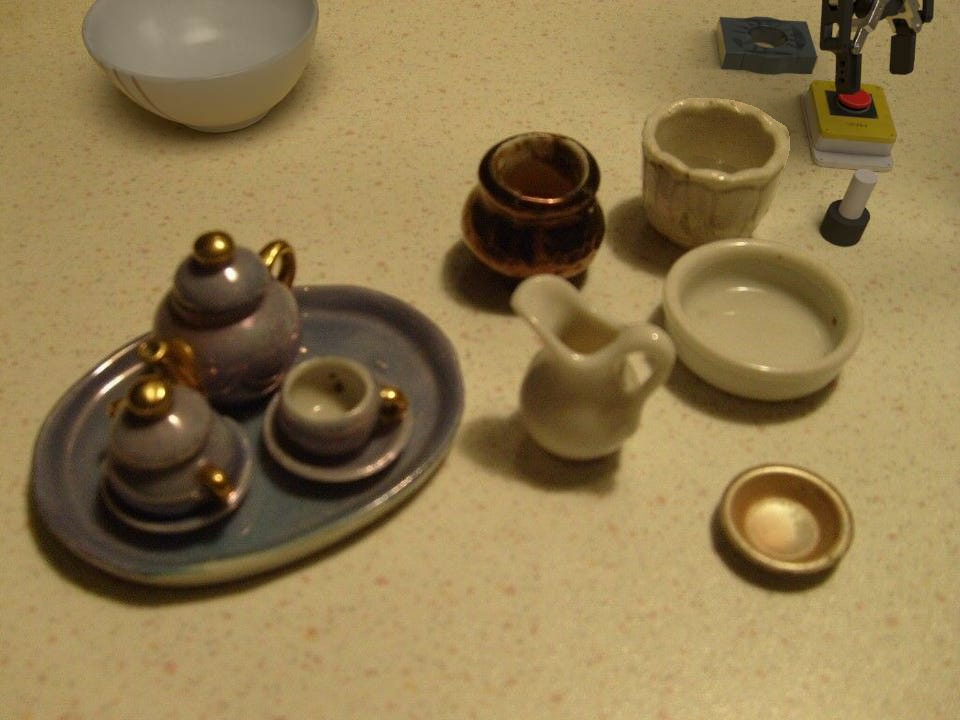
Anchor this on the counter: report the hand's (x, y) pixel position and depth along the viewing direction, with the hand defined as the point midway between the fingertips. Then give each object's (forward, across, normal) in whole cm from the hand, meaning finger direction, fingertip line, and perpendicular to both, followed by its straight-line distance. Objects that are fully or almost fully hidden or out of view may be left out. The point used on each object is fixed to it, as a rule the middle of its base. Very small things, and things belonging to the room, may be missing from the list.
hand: (875, 83), depth 84 cm
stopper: (+16, 0, +4) cm, 17 cm away
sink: (+2, +20, +30) cm, 36 cm away
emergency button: (+10, +16, +14) cm, 23 cm away
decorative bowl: (-5, -46, +60) cm, 76 cm away
